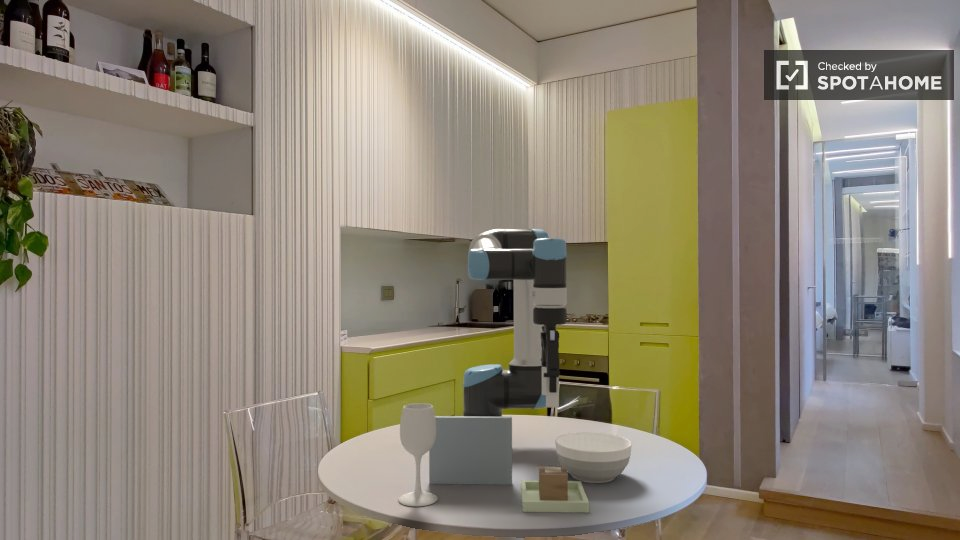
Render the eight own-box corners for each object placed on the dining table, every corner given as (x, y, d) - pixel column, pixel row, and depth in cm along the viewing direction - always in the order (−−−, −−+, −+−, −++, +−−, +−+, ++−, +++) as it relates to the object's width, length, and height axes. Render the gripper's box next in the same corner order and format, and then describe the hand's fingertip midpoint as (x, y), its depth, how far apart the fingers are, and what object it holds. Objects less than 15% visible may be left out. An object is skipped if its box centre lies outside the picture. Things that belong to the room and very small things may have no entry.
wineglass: (399, 493, 144) (399, 402, 144) (437, 492, 145) (437, 401, 145) (397, 507, 135) (397, 410, 136) (437, 506, 136) (437, 409, 136)
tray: (520, 489, 147) (520, 480, 147) (580, 490, 146) (580, 481, 146) (522, 511, 133) (522, 501, 133) (588, 512, 132) (588, 502, 132)
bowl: (585, 493, 144) (585, 455, 144) (540, 471, 161) (540, 437, 161) (648, 481, 153) (647, 445, 153) (599, 461, 169) (599, 429, 170)
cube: (539, 492, 143) (538, 465, 143) (565, 493, 142) (565, 465, 143) (540, 502, 137) (540, 473, 137) (567, 502, 136) (567, 474, 137)
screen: (429, 483, 151) (429, 417, 151) (430, 481, 152) (429, 416, 153) (512, 484, 150) (511, 417, 150) (512, 482, 152) (511, 416, 152)
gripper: (530, 303, 154) (530, 389, 154) (536, 310, 129) (536, 412, 129) (560, 303, 154) (560, 390, 154) (572, 310, 129) (573, 413, 129)
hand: (549, 400), depth 141 cm, fingers open, 13 cm apart
